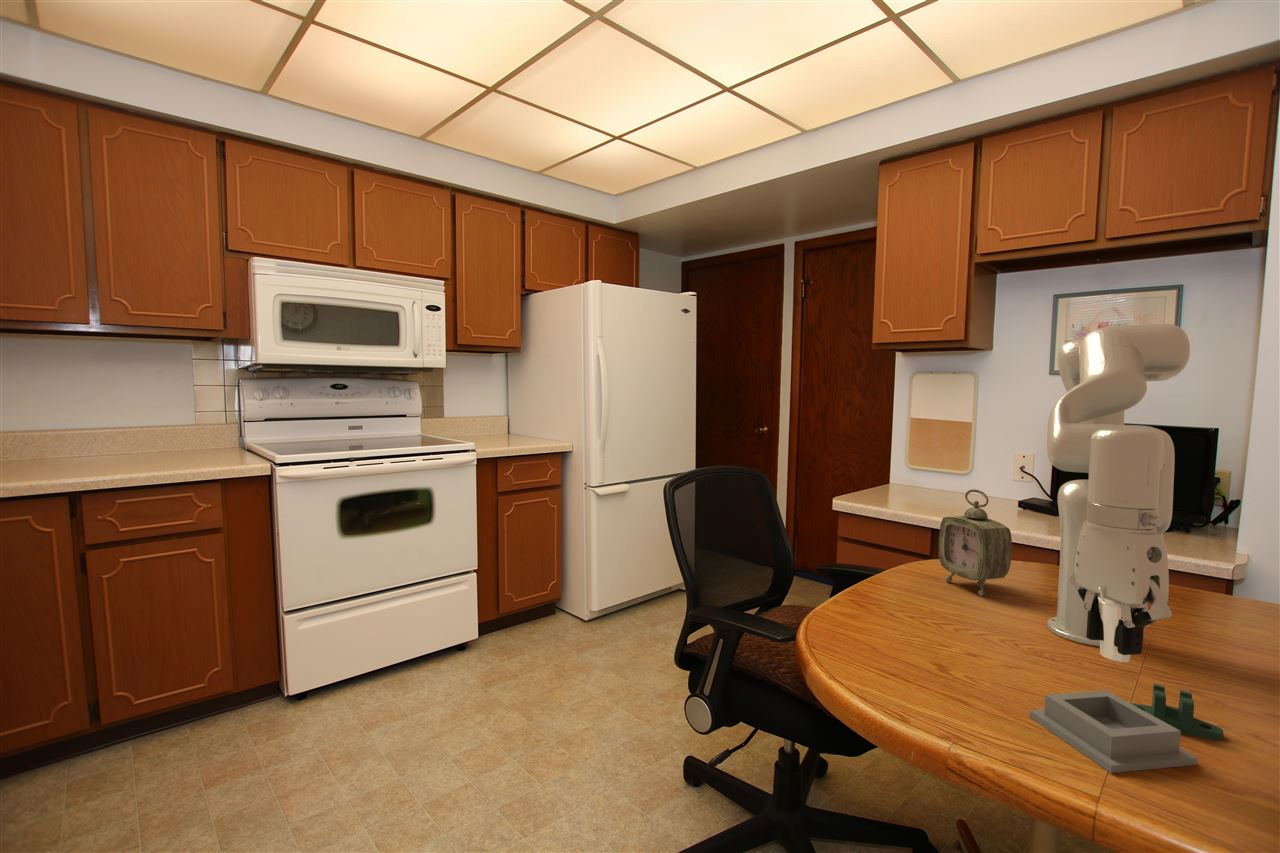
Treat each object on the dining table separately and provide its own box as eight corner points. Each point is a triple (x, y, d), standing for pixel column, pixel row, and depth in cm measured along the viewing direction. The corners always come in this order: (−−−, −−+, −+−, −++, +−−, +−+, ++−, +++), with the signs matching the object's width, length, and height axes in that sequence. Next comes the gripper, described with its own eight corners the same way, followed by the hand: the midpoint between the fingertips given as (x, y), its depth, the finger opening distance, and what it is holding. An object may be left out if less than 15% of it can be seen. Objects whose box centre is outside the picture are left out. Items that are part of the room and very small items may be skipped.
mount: (1220, 732, 84) (1222, 699, 84) (1225, 746, 81) (1227, 712, 80) (1123, 705, 91) (1124, 675, 91) (1123, 718, 88) (1125, 686, 87)
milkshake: (1080, 650, 83) (1084, 582, 82) (1115, 649, 84) (1119, 581, 83) (1109, 665, 79) (1113, 593, 78) (1145, 664, 79) (1150, 592, 78)
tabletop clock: (937, 580, 151) (941, 485, 149) (966, 578, 153) (970, 484, 151) (982, 600, 137) (987, 495, 135) (1013, 597, 139) (1018, 494, 137)
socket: (1104, 710, 89) (1106, 685, 89) (1196, 764, 76) (1198, 735, 76) (1029, 716, 87) (1031, 691, 87) (1110, 773, 75) (1112, 743, 74)
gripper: (1211, 531, 72) (1201, 673, 73) (1089, 505, 89) (1083, 621, 90) (1159, 532, 71) (1150, 676, 72) (1046, 505, 88) (1040, 623, 89)
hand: (1113, 644), depth 81 cm, fingers closed on milkshake, 4 cm apart
